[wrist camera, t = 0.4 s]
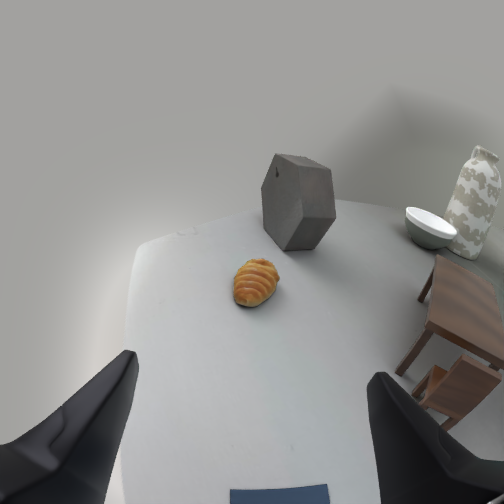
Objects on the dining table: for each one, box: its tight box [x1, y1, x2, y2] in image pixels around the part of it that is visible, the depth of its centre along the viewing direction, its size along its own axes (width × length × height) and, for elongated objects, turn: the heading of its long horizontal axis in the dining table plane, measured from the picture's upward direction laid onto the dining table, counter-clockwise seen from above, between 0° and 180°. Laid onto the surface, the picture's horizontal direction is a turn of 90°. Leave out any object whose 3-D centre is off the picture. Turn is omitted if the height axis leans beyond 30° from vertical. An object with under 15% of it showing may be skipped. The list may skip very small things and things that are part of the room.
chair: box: [412, 354, 502, 432], centre depth 22 cm, size 6×6×12 cm
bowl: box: [405, 207, 457, 250], centre depth 74 cm, size 19×19×8 cm
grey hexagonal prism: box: [261, 154, 336, 251], centre depth 58 cm, size 17×8×21 cm
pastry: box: [234, 259, 280, 307], centre depth 43 cm, size 9×7×4 cm
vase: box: [443, 145, 501, 260], centre depth 71 cm, size 20×19×38 cm
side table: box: [395, 254, 504, 376], centre depth 35 cm, size 24×14×10 cm, turn 142°
